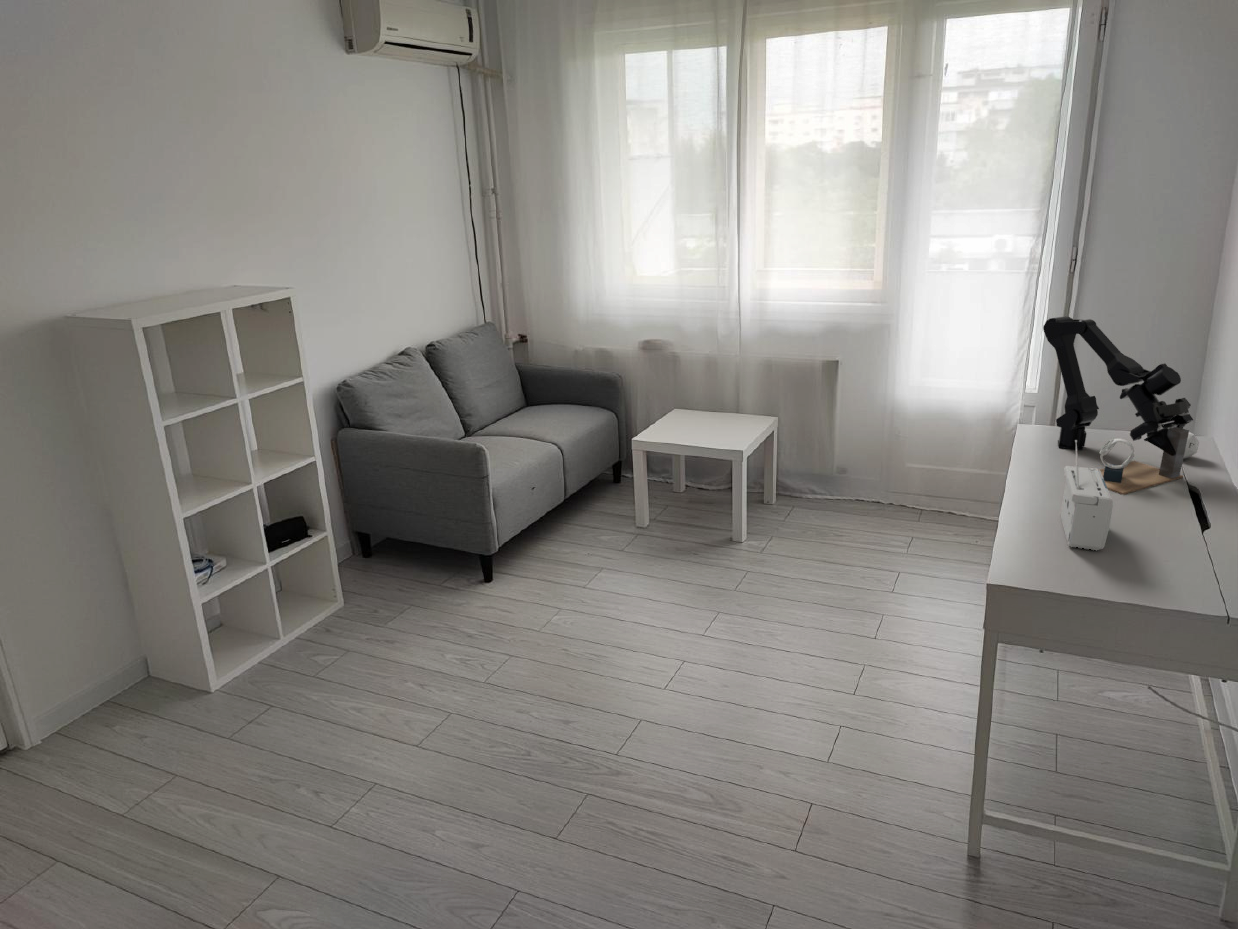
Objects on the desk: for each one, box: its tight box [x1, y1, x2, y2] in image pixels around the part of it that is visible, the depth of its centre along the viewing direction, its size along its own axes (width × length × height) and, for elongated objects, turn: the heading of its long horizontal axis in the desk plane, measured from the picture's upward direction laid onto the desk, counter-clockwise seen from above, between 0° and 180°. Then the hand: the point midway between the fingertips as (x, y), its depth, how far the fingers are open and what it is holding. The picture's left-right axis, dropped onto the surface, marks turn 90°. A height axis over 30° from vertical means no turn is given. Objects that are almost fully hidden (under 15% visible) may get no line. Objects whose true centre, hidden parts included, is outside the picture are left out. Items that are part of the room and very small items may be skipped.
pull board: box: [1099, 427, 1190, 495], centre depth 238 cm, size 14×25×14 cm, turn 117°
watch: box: [1099, 437, 1135, 483], centre depth 237 cm, size 6×8×11 cm
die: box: [1183, 431, 1200, 460], centre depth 254 cm, size 8×9×10 cm
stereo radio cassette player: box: [1060, 440, 1114, 551], centre depth 204 cm, size 21×8×20 cm, turn 160°
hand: (1178, 454), depth 237 cm, fingers closed on pull board, 3 cm apart
